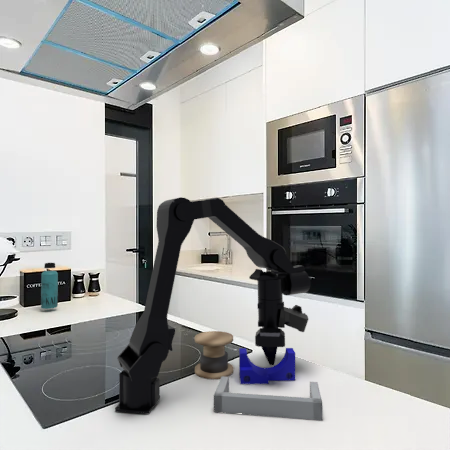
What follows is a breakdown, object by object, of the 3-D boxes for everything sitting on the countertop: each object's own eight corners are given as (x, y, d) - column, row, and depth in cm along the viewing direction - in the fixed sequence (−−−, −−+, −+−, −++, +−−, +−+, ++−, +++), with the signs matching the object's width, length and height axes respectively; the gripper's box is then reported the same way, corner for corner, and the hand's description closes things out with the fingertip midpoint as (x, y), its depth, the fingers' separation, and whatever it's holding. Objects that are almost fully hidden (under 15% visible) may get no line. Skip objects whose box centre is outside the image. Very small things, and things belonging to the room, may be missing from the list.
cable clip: (240, 384, 76) (240, 356, 75) (239, 374, 80) (239, 348, 80) (296, 383, 76) (296, 355, 76) (292, 374, 80) (292, 347, 80)
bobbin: (190, 377, 79) (190, 341, 79) (199, 363, 88) (199, 330, 88) (230, 380, 78) (230, 343, 78) (235, 365, 86) (235, 331, 87)
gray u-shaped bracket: (213, 412, 64) (213, 395, 64) (221, 391, 72) (221, 376, 72) (322, 420, 61) (322, 402, 61) (317, 397, 69) (317, 382, 69)
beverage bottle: (44, 309, 151) (44, 262, 151) (60, 308, 151) (60, 261, 152) (37, 312, 144) (38, 263, 145) (54, 312, 145) (55, 263, 145)
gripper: (308, 307, 72) (310, 384, 72) (302, 290, 91) (304, 351, 91) (254, 306, 74) (256, 381, 74) (259, 290, 93) (260, 350, 93)
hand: (271, 364), depth 83 cm, fingers closed
